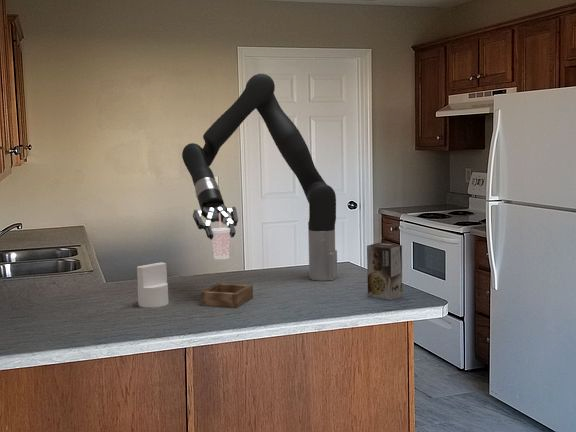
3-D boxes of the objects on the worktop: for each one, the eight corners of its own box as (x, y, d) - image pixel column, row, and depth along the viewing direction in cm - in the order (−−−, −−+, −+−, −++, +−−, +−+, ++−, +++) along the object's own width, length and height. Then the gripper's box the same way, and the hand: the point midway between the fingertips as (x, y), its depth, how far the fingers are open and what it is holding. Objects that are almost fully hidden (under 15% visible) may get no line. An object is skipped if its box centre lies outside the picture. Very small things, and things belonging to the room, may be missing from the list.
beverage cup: (208, 259, 201) (205, 213, 199) (217, 255, 206) (215, 211, 205) (226, 260, 199) (224, 214, 197) (234, 256, 204) (233, 211, 202)
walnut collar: (253, 297, 205) (252, 285, 204) (237, 307, 194) (236, 294, 193) (218, 295, 209) (217, 283, 208) (200, 305, 198) (200, 292, 197)
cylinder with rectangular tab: (157, 298, 207) (156, 261, 206) (174, 303, 201) (172, 264, 199) (132, 304, 201) (130, 265, 199) (149, 309, 195) (147, 269, 193)
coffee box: (403, 296, 202) (403, 244, 200) (391, 300, 198) (391, 247, 196) (378, 292, 208) (378, 242, 206) (366, 296, 204) (366, 244, 202)
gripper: (188, 188, 204) (202, 231, 194) (232, 185, 209) (247, 227, 200) (184, 204, 209) (197, 246, 200) (227, 201, 215) (242, 241, 206)
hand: (222, 236), depth 200 cm, fingers closed on beverage cup, 6 cm apart
